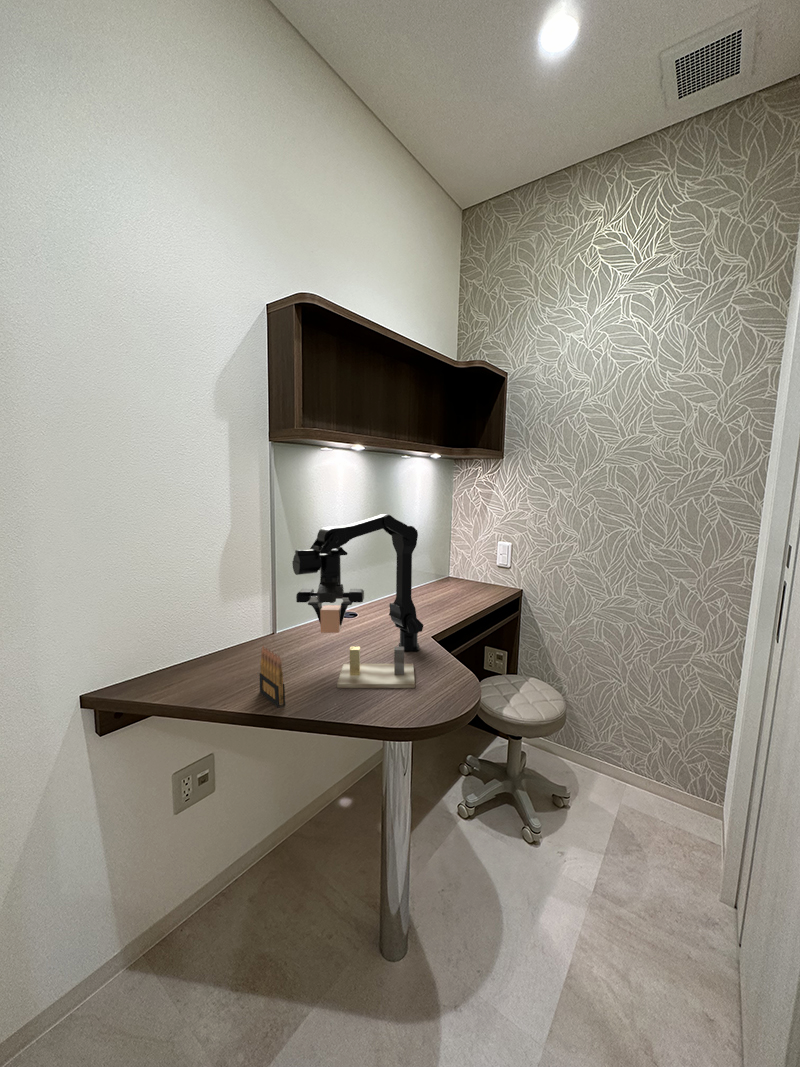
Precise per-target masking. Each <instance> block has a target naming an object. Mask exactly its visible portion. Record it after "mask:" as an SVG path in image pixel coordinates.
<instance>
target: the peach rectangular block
mask: <svg viewBox="0 0 800 1067" xmlns="http://www.w3.org/2000/svg"><path fill="white" fill-rule="evenodd" d="M340 614H341V604H340V605H336V604H335V605H334V604H332V605H328V604H327V605H323V604H322V608H321V610H320V617H321V624H320V633H321V634H334V633H335V634H339V633H340V632H341V630H342V625H340Z"/></svg>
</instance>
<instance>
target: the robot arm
mask: <svg viewBox="0 0 800 1067" xmlns="http://www.w3.org/2000/svg"><path fill="white" fill-rule="evenodd" d="M379 530H384V532H385V533H387V534H388V535H390V536H391V541H392V542H391V543H392V545H393V548H394V550H395V553H396V569H395V570H396V574H395V575H396V577H395V578H396V579H395V580H396V583H395V584H396V586H395V587H396V588H395V589H396V590H395V592H396V593H395V600H394V601H393V602H389V606H388V607H389V612H388V616H389V617H390V619H391V621H392V622H393V623H394V625H395V628H398V629H399V642H398V647H404V652H419V651H420V645H419V643H418V642H419V641H418V640H419V639H418V634H419V633H421V632H422V631H423V630H424V624H423V623H422V622H421V621H420V620H419V619H418V617H417V610H416V609H417V608H416V606H415V603H414V602H413V599H412V584H413V583H412V582H413V581H412V577H413V576H412V575H413V553H414V551H415V548H416V547H417V543H418V538H419V537H418V536H419V535H418V533H419V532H418V530H417V529H416V528H415V526H413V525H407V524H406V523H404V522H402V521H400V520H398V519H397V518H395V517H394V516H392V515H390V514H385V513H380V514H378V515H375V516H373V517H369V518H366V519H363V520H360V521H357V522H353V523H349V524H346V525H334V526H325V527H322V528H320V529H319V531H318V532H317V535H316V539H315V540H314V542H313V543H312V545H311V546H310V548H309V549H296V550H294V553H295V554H294V556H293V559H292V561H291V562H292V569H293V573H294V574H295V575H296V576H298V575H300V576H301V575H309V574H317V573H318V571H320V578H319V584H318V589H317V591H315V590H314V588H301V589H300V590H299V591H298V592H297V593H296V600H295V601H296V603H307V605H308V606H311V607H312V608H313V610H314V611H315V613H316V616H317V620H318V621H319V624H320V625H321V617H320V610H321V608H322V607H323V603H329V604H334V603H335V602H337V599H339V600H340V599H341V600H342V601H341V602H340V605H341V614H340V625H341V626H343V622H344V618H345V615H346V611H347V609H348V606H352V604H354V603H363V602H364V599H365V590H364V589H363V588H350V590H349V591H344V585H343V584H342V583H341V580H342V576H341V575H342V573H341V570H342V568H341V557H342V556H347V555H348V554H349V553H348V552H347V551H346V550H344V548H343V547H342V546H344V545H346V544H347V543H348V542H350V541H351V540H353V539H355V538H358V537H360V536H364V535H367V534H370V533H373V532H377V531H379Z"/></svg>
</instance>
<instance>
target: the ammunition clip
mask: <svg viewBox="0 0 800 1067" xmlns="http://www.w3.org/2000/svg"><path fill="white" fill-rule="evenodd" d="M285 691H286V690H285V683H284V674H283V668H282V659H281V657H280V655H277V653H274V652H273V651H271V649H268V648H267V647H266V648H265V646H264V645H262V648H261V653H260V672H259V693H260V694H261V695H262V696H263V697H264V698H266V699H267V700H268V701H270V702H271V703H272V704H273V705H274V706H275V707H277V708H281V707H284V706H286V692H285Z"/></svg>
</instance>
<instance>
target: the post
mask: <svg viewBox="0 0 800 1067" xmlns="http://www.w3.org/2000/svg"><path fill="white" fill-rule="evenodd" d="M349 664H350V675H360V664H361V646H350V647H349Z"/></svg>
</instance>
